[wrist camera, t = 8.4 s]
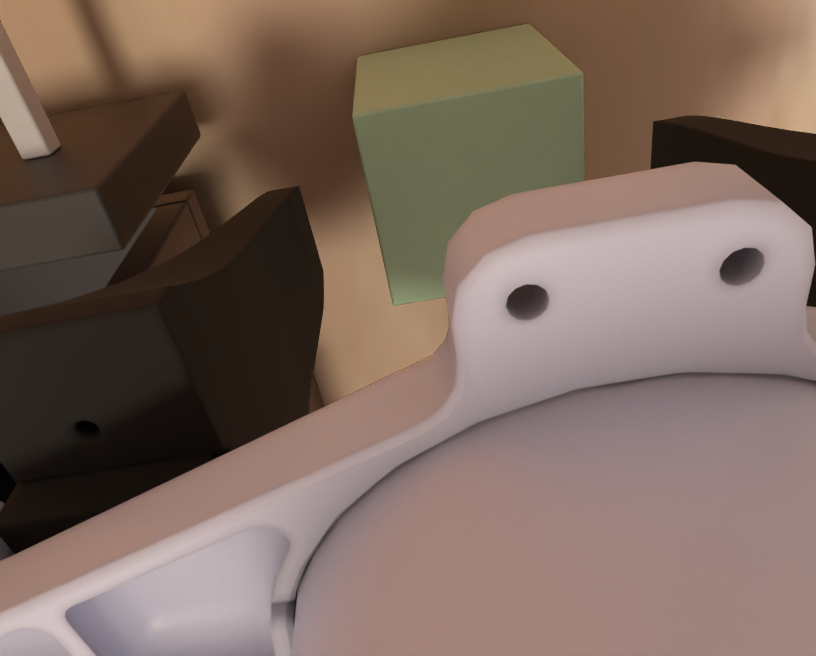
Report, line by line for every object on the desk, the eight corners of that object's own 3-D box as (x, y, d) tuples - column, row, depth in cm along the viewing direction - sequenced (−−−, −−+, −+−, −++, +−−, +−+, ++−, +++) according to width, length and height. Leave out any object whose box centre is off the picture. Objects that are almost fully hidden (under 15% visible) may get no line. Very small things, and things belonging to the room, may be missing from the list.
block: (530, 22, 16) (584, 71, 12) (539, 187, 18) (587, 274, 14) (356, 56, 16) (350, 114, 12) (388, 213, 19) (393, 307, 15)
